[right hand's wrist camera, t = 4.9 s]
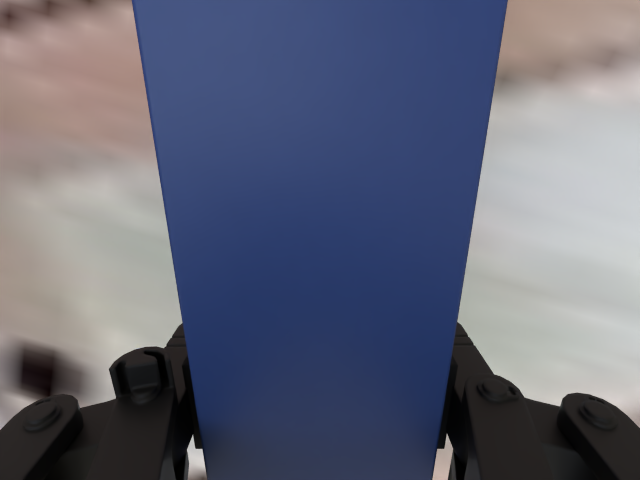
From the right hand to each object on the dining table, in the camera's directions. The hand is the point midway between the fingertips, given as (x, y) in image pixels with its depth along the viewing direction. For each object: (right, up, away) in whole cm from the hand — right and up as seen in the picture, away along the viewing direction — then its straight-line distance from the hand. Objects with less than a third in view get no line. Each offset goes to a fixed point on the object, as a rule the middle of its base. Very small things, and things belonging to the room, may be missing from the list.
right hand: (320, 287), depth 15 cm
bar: (0, +9, -3) cm, 9 cm away
